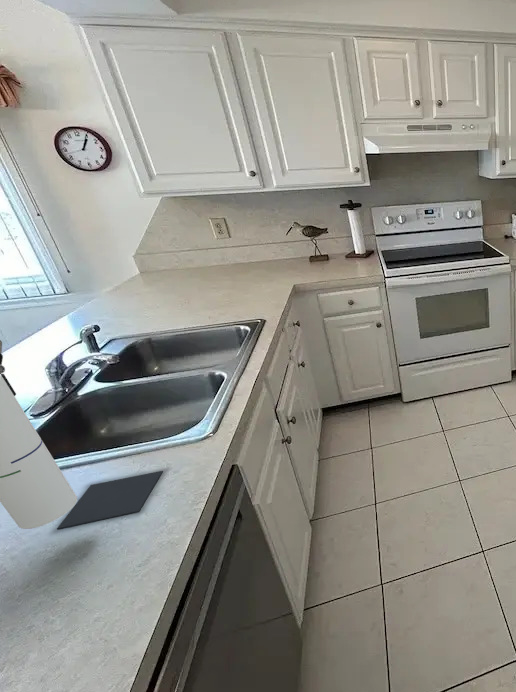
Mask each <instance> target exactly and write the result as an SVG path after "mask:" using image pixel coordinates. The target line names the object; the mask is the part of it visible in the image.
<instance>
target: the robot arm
mask: <svg viewBox="0 0 516 692" xmlns="http://www.w3.org/2000/svg"><path fill="white" fill-rule="evenodd" d="M2 350H3V342H2V340H1V339H0V374H1V375H2V377H3V379H4V380H5V382H6V383H7V385H8V387H9V388H10V390H11V391H12V393H13V395H14V396H15V397H16V395H17V393H16V391H15V389H14V388H13V386H12V384H11V383H10V382H9V380H8V378H7V377H6V375H5V372H6V368H5V366H4V365H3V359H4V355H3V354H2V353H3V351H2Z"/></svg>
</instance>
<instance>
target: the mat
mask: <svg viewBox="0 0 516 692" xmlns="http://www.w3.org/2000/svg"><path fill="white" fill-rule="evenodd" d="M163 473H164V470H159V471H155V472H148V473H144V474H139V475H134V476H129V477H124V478H123V477H122V478H119V479H113V480H108V481H104V482H98V483H93V484H90V485H89V486H88V488H87V489H86V490H85V491H84V493H83V494H82V495H81V497H80V498H79V499H78V500H77V502H76V504H75V505H74V507H73V508H72V509H71V510H70V511H68V513H67V514H66V515H65V518H63V520H62V521H61V523H60V524H59V525H58V526H57V528H56V529H57V530H62V529H66V528H72V527H76V526H81V525H86V524H90V523H94V522H99V521H104V520H107V519H108V520H109V519H113V518H119V517H122V516H126V515H131V514H137V513H139V512H140V511H141V510H142V508H143V506H144V505H145V503H146V502H147V500H148V498H149V497H150V495H151V493H152V491H153V489H154V488H155V486H156V484H157V483H158V481H159V480H160V478H161V476H162V474H163Z"/></svg>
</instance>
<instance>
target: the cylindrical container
mask: <svg viewBox="0 0 516 692" xmlns="http://www.w3.org/2000/svg"><path fill="white" fill-rule="evenodd" d="M1 374H2V373H1ZM1 374H0V504H1V506H2V507H3V508H4V510H5V511H6V512H7V513H8V515H9V516H10V517H11V519H12V520H13V521H14V523H15V524H16V525H17V527H18V528H19V529H22V530H32V529H36V528H39V527H43V526H46V525H49V524H50V523H53V522H54V521H57V520H58V519H60V518H61V517H63V516H64V515H67V514H68V513H69V512H70V511H71V510H72V508H73V507H74V506H75V505H76V503H77V502H78V500H79V499H78V496H77V494H76V492H75V491H74V489H73V488H72V486H71V485H70V483H69V481H68V479H67V478H66V477H65V475H64V473H63V471H62V470H61V468H60V466H59V465H58V464H57V462H56V460H55V459H54V456H53V455H52V454H51V452H50V451H49V450H48V448H47V446H46V444H45V443H44V441H43V440H42V438H41V436H40V435H39V433H38V431H37V430H36V429H35V427H34V425H33V424H32V422H31V420H30V419H29V417H28V415H27V414H26V413H25V411H24V409H23V407H22V406H21V404H20V403H19V401H18V400H17V398H16V395H15V396H14V395H13V393H12V391H11V390H10V388H9V387H8V385H7V383H6V382H5V380H4V379H3V377H2V375H1Z"/></svg>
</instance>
